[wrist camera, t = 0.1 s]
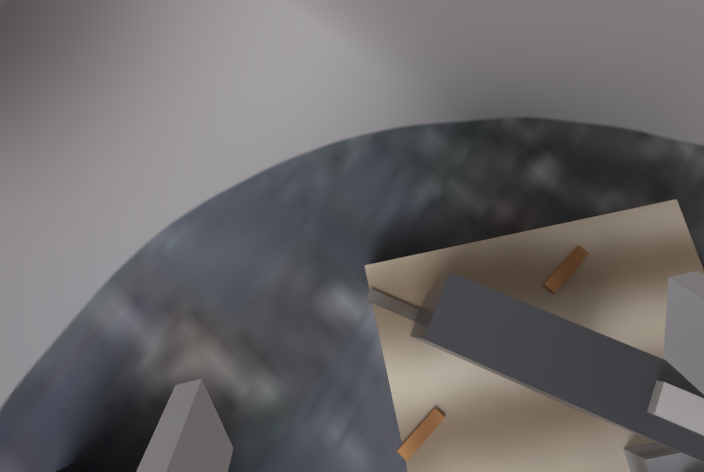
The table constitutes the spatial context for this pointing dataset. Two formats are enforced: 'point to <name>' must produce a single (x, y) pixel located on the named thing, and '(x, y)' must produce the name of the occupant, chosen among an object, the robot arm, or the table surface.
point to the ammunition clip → (69, 469)
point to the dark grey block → (564, 362)
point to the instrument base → (549, 295)
